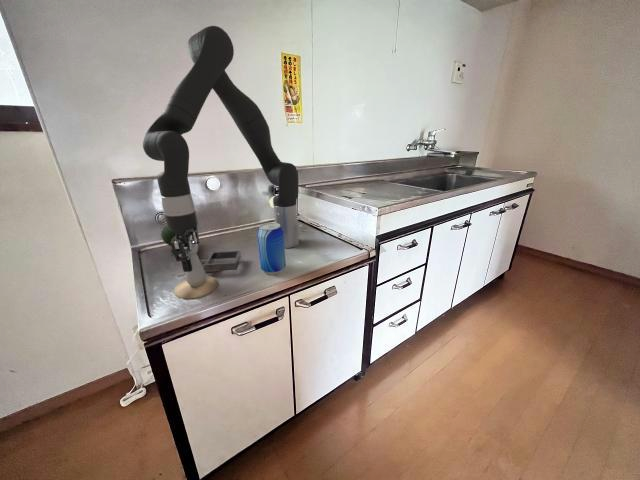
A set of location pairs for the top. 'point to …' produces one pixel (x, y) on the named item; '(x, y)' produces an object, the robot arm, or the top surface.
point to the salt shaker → (195, 269)
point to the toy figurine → (168, 236)
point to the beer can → (271, 248)
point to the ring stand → (221, 266)
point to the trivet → (195, 288)
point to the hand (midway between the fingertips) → (192, 265)
